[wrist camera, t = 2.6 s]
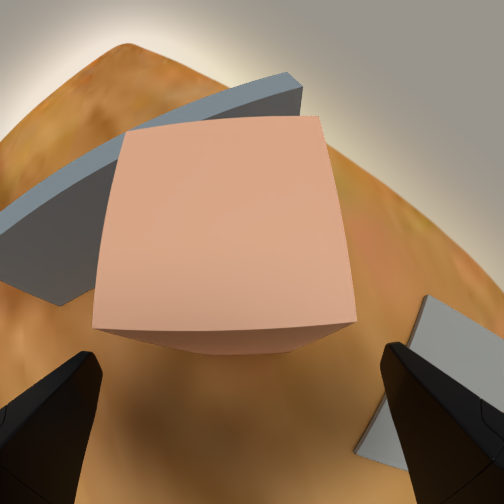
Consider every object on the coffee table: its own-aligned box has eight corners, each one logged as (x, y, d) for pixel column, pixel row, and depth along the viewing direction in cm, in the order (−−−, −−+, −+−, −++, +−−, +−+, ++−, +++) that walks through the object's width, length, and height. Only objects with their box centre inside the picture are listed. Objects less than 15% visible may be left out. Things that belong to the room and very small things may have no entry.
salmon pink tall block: (288, 352, 18) (356, 321, 5) (209, 355, 18) (92, 328, 5) (283, 273, 20) (317, 109, 7) (208, 276, 20) (127, 125, 7)
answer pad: (465, 483, 13) (468, 484, 12) (353, 451, 15) (355, 454, 15) (517, 352, 16) (521, 351, 16) (424, 296, 19) (428, 294, 18)
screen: (59, 306, 19) (-34, 263, 10) (56, 289, 20) (-33, 240, 11) (289, 191, 22) (302, 86, 13) (279, 177, 23) (286, 71, 13)
